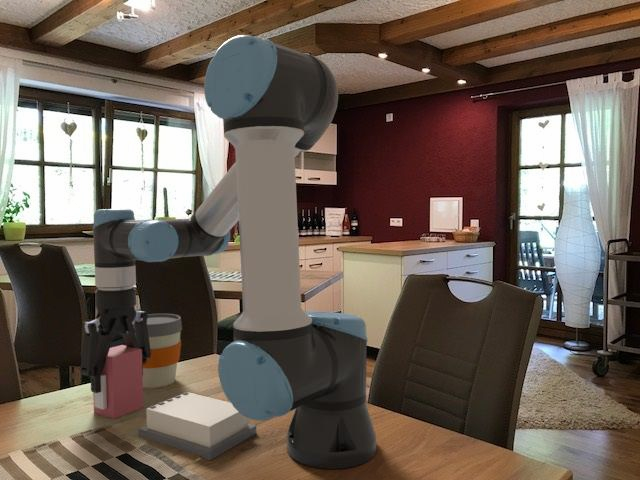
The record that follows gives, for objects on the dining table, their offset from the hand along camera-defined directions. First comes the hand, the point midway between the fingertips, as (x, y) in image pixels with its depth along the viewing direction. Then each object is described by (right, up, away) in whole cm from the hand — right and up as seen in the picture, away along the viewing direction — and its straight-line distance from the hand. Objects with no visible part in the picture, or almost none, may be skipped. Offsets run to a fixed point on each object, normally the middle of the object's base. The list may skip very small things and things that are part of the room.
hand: (118, 400), depth 107 cm
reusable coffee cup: (+2, -1, +18) cm, 18 cm away
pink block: (0, -2, 0) cm, 2 cm away
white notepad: (+18, -3, -11) cm, 22 cm away
